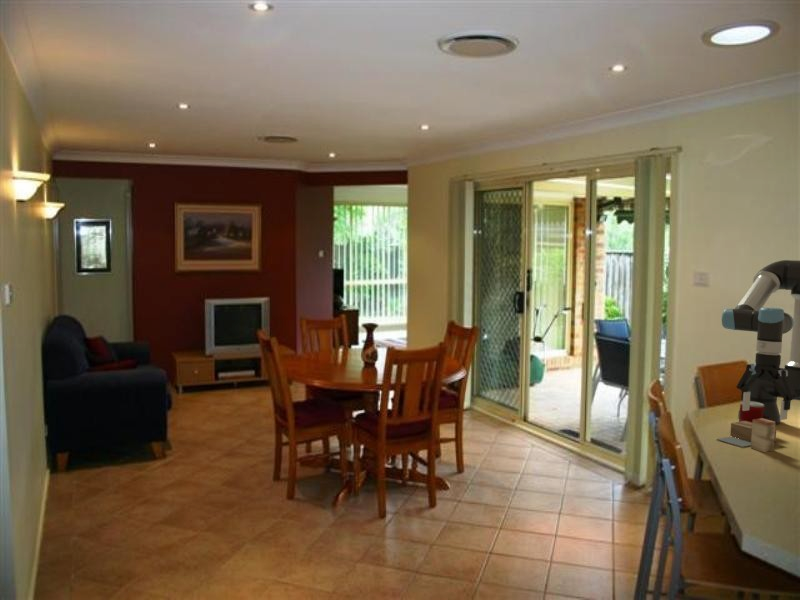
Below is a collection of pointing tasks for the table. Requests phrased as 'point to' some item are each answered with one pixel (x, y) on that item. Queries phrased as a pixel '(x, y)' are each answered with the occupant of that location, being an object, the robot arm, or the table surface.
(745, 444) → the mat
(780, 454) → the table surface
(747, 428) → the step
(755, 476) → the table surface
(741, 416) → the canned food
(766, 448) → the block
